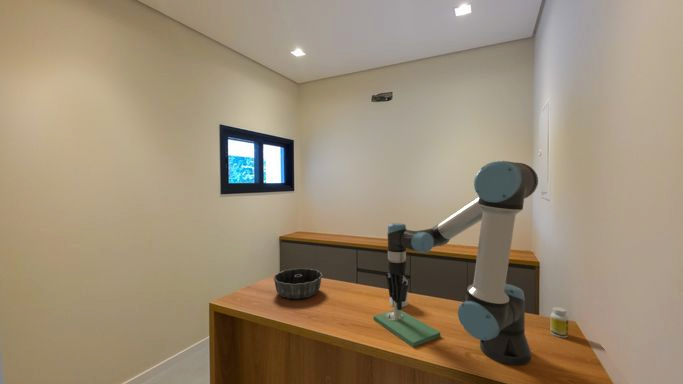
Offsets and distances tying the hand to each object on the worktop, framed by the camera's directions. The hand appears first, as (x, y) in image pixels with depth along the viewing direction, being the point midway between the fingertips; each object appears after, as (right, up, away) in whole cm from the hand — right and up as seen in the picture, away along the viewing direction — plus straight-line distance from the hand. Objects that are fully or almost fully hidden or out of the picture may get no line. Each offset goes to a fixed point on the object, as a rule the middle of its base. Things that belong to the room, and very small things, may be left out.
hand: (397, 316), depth 117 cm
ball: (-1, -1, +2) cm, 2 cm away
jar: (+4, -3, +19) cm, 20 cm away
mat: (+2, -3, -4) cm, 5 cm away
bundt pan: (-47, -3, +35) cm, 59 cm away
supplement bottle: (+60, -3, -10) cm, 61 cm away
